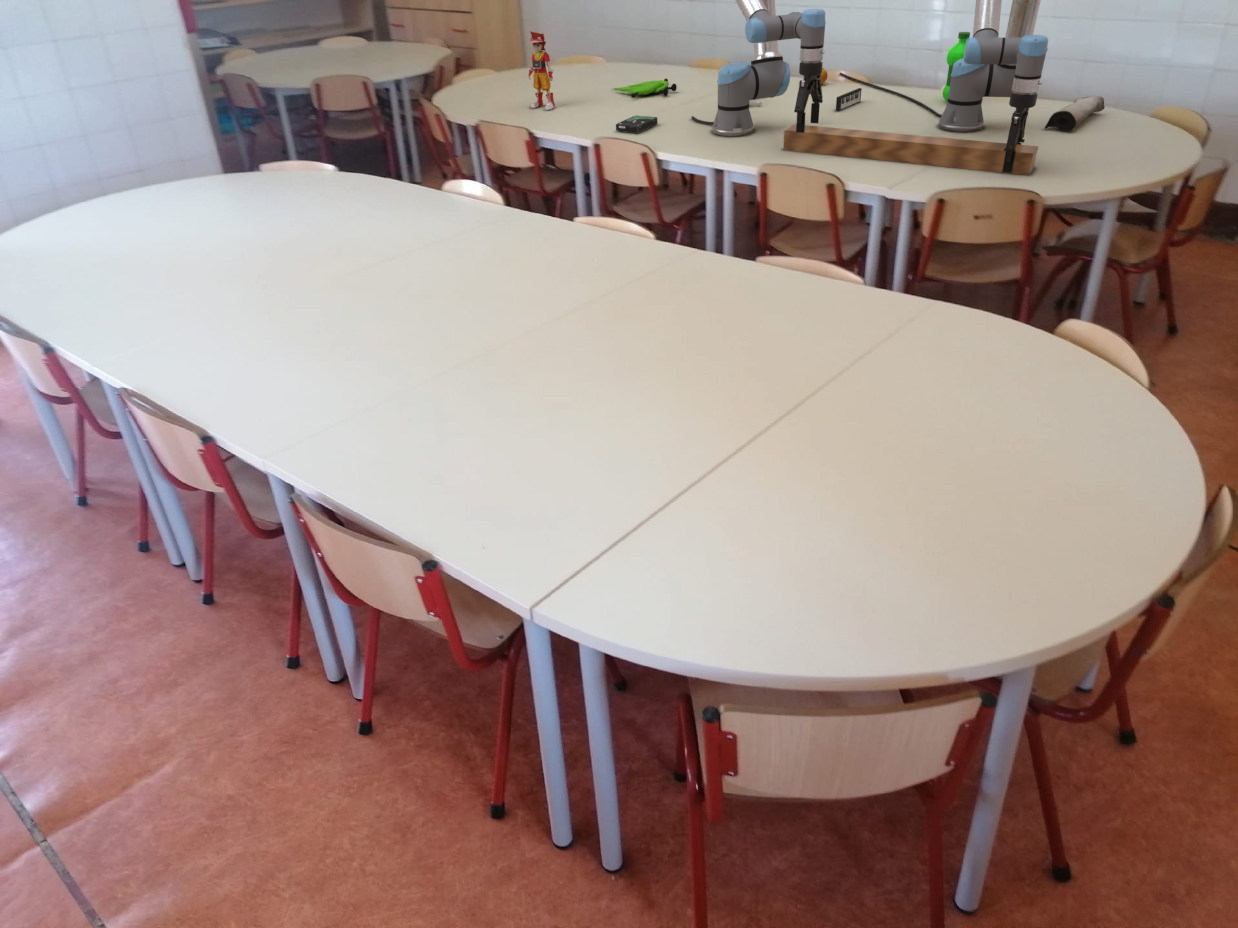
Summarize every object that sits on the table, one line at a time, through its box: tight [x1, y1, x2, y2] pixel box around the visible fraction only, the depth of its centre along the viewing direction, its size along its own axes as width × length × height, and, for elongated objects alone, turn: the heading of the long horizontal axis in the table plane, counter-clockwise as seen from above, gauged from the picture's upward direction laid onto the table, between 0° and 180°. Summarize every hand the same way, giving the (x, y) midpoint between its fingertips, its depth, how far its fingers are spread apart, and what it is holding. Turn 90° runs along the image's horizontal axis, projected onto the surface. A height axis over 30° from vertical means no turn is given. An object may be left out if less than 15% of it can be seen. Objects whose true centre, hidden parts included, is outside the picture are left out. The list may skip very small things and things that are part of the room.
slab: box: [783, 123, 1039, 176], centre depth 297 cm, size 81×8×7 cm, turn 59°
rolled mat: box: [1044, 95, 1106, 133], centre depth 322 cm, size 30×9×10 cm
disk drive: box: [615, 114, 658, 134], centre depth 347 cm, size 10×3×15 cm
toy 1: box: [527, 31, 556, 111], centre depth 374 cm, size 12×9×30 cm
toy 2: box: [612, 78, 677, 99], centre depth 396 cm, size 28×5×30 cm
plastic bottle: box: [942, 31, 971, 103], centre depth 348 cm, size 10×10×25 cm
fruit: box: [821, 67, 829, 85], centre depth 389 cm, size 8×8×8 cm
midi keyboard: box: [835, 87, 863, 112], centre depth 357 cm, size 18×1×5 cm, turn 138°
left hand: (807, 127), depth 309 cm, fingers open, 13 cm apart
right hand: (1009, 167), depth 283 cm, fingers closed on slab, 8 cm apart
